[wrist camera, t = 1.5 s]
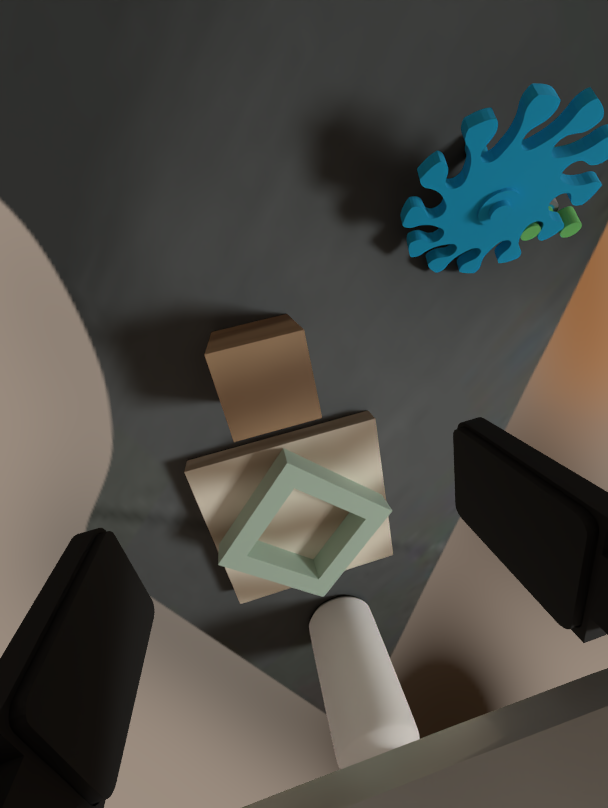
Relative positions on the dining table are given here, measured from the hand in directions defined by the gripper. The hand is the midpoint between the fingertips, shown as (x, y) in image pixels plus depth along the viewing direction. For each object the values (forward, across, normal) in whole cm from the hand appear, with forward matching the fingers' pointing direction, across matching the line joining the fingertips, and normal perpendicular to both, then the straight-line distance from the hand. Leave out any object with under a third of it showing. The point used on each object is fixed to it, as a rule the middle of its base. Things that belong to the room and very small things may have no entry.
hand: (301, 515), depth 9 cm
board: (+16, 0, +12) cm, 20 cm away
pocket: (+14, 0, +13) cm, 19 cm away
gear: (+16, -15, -7) cm, 23 cm away
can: (+16, -1, +28) cm, 32 cm away
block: (+16, 0, 0) cm, 16 cm away
